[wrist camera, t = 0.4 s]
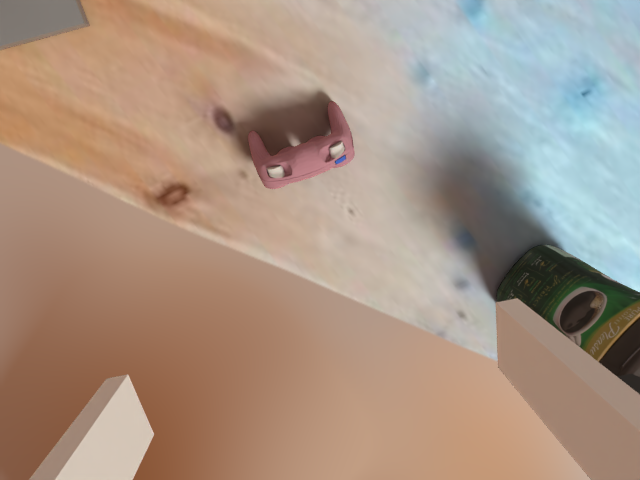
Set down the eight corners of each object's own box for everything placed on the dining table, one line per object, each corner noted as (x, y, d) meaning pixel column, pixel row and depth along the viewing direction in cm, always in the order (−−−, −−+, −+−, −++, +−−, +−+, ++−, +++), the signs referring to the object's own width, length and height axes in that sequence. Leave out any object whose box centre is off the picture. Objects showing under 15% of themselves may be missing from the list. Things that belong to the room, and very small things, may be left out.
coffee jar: (530, 326, 44) (683, 456, 27) (482, 298, 43) (611, 416, 25) (583, 264, 42) (789, 361, 24) (535, 232, 41) (717, 311, 23)
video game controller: (260, 166, 38) (266, 205, 33) (243, 129, 35) (246, 166, 30) (346, 135, 38) (365, 169, 33) (336, 94, 35) (355, 125, 30)
